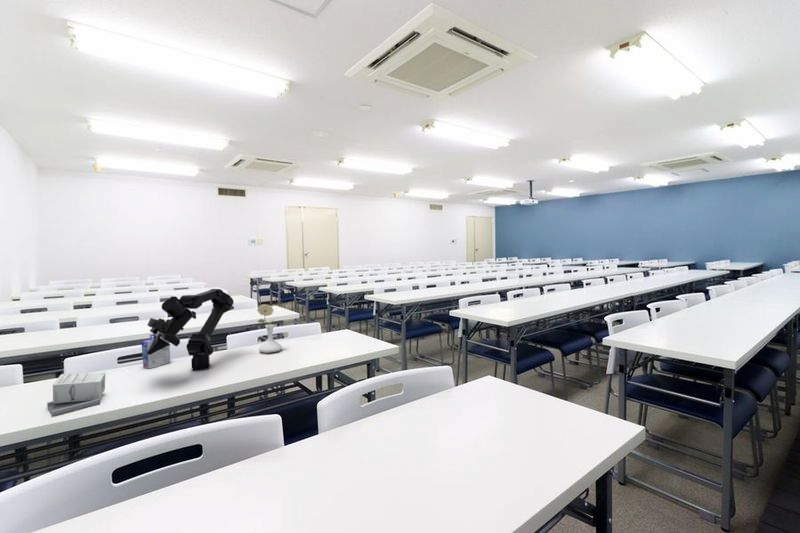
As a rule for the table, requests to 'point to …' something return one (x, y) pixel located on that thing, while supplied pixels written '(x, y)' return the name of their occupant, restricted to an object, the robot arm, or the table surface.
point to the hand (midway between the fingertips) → (147, 354)
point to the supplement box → (78, 387)
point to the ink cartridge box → (154, 355)
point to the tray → (69, 406)
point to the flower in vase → (270, 343)
